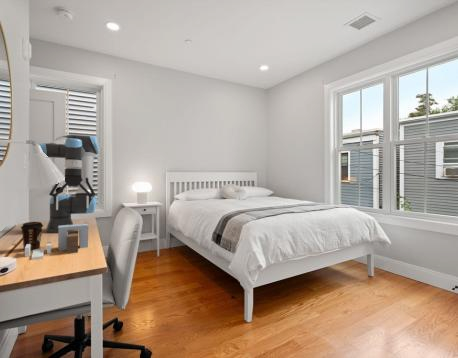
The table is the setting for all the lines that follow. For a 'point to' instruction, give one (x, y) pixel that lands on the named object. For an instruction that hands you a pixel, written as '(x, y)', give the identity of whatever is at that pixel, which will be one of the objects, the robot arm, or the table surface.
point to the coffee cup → (32, 234)
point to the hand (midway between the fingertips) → (72, 208)
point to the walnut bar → (72, 242)
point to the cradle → (37, 251)
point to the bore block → (63, 229)
